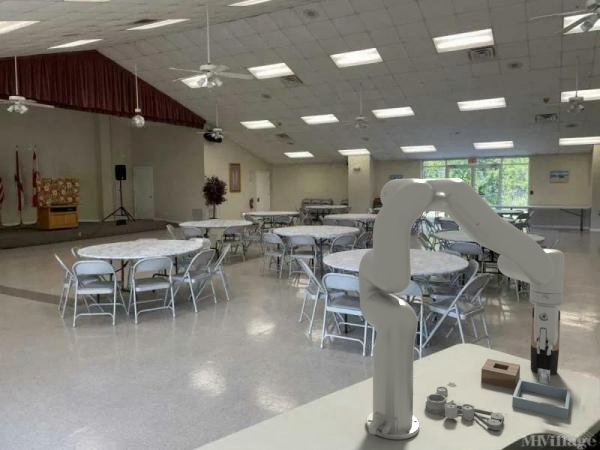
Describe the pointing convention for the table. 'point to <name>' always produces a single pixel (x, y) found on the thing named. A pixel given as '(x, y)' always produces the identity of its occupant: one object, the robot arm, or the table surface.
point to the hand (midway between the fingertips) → (543, 365)
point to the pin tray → (541, 406)
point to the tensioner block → (500, 373)
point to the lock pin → (544, 371)
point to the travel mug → (554, 351)
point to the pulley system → (441, 407)
